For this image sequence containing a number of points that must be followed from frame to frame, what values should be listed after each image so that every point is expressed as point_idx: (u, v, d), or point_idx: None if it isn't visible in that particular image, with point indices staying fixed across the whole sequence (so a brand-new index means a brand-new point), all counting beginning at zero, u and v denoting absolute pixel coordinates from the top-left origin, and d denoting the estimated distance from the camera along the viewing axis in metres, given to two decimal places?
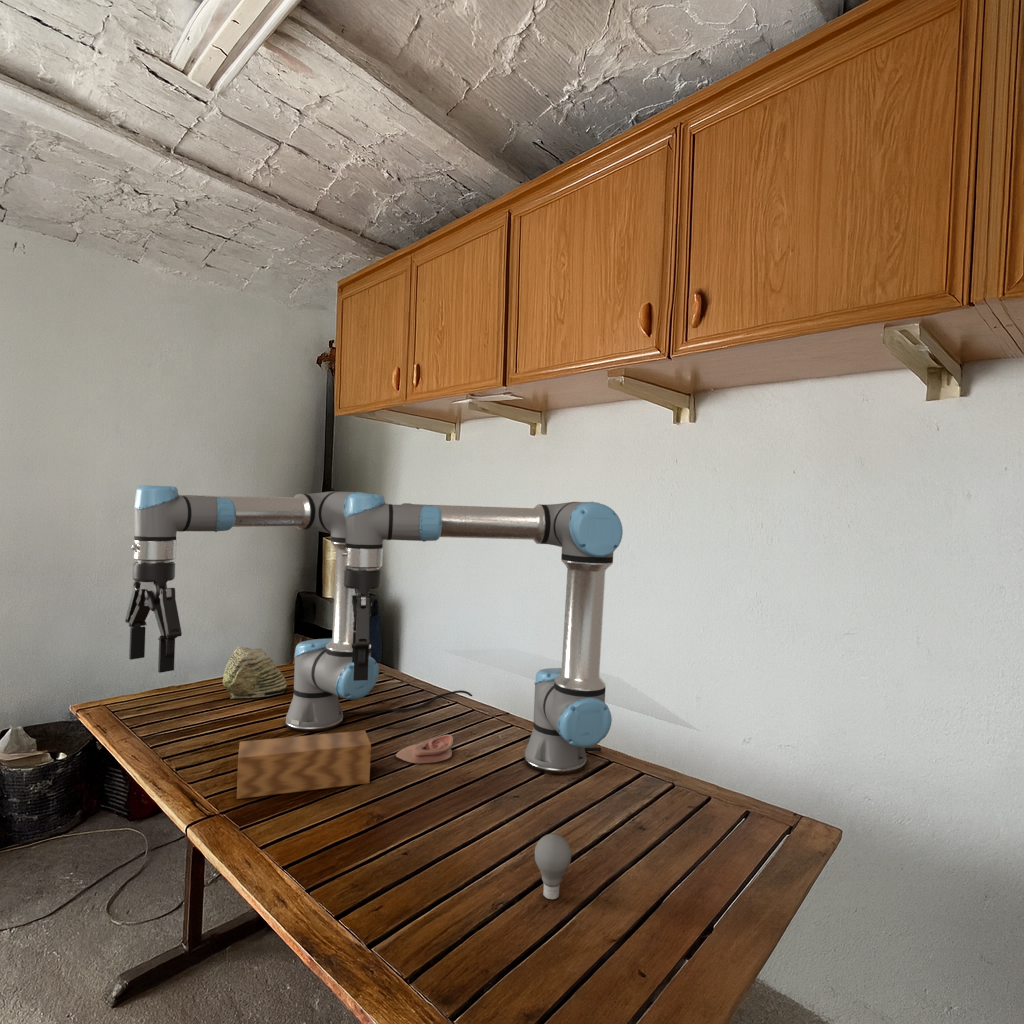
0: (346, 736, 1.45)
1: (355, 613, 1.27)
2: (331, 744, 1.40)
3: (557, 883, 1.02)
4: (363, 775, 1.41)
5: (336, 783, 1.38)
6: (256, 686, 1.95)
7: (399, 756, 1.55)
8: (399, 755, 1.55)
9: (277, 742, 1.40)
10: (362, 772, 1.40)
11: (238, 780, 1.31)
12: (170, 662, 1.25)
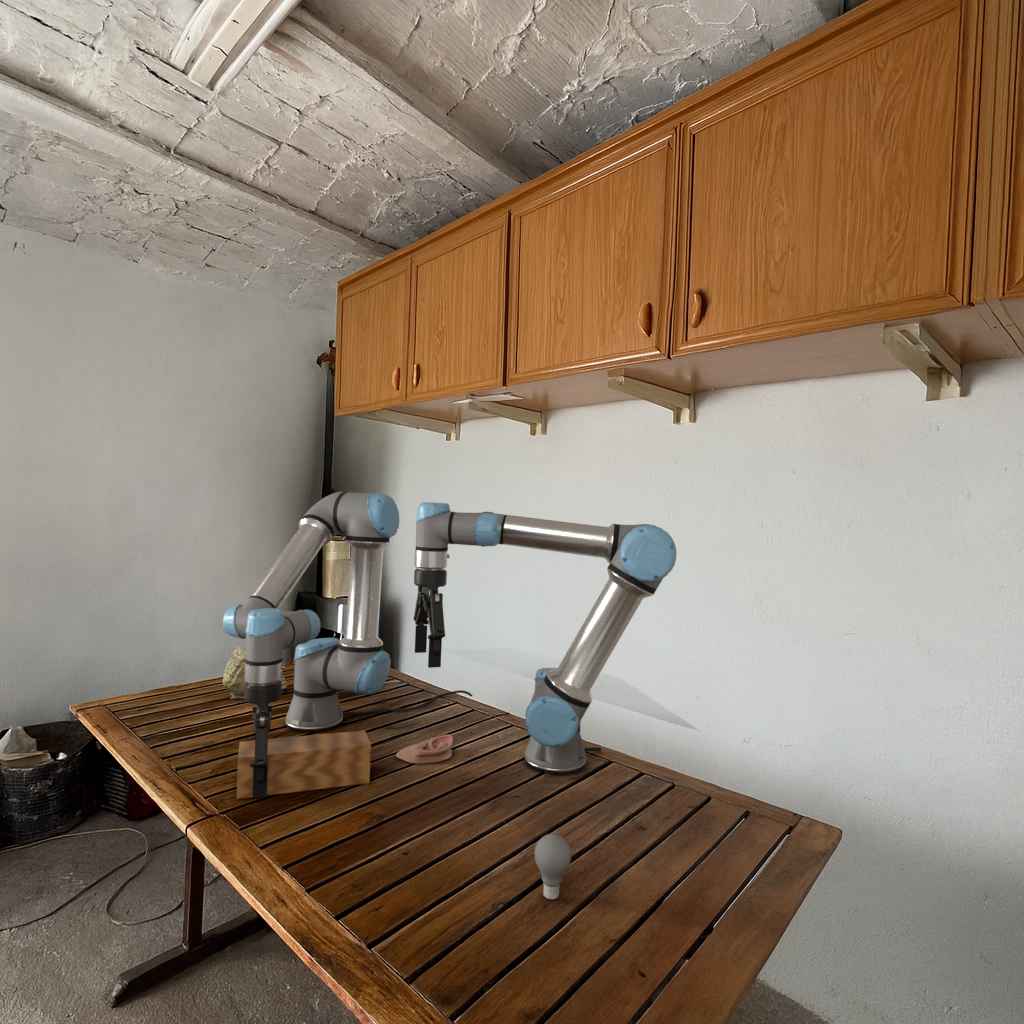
0: (346, 736, 1.45)
1: None
2: (331, 744, 1.40)
3: (557, 883, 1.02)
4: (363, 775, 1.41)
5: (336, 783, 1.38)
6: None
7: (399, 756, 1.55)
8: (399, 755, 1.55)
9: (277, 742, 1.40)
10: (362, 771, 1.40)
11: (238, 780, 1.31)
12: None
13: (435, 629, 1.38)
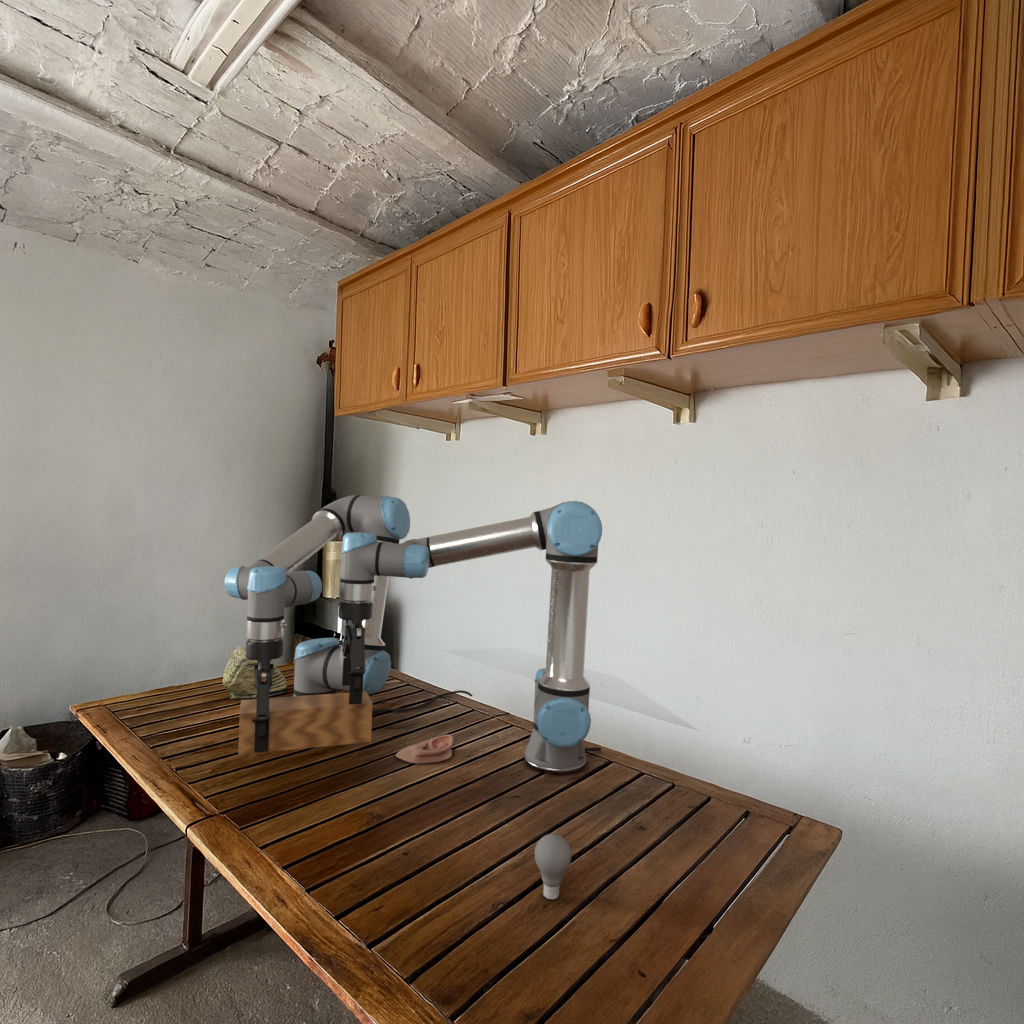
0: (348, 696, 1.45)
1: None
2: (332, 702, 1.40)
3: (557, 883, 1.02)
4: (364, 734, 1.40)
5: (337, 741, 1.38)
6: None
7: (399, 756, 1.55)
8: (399, 755, 1.55)
9: (278, 701, 1.39)
10: (364, 730, 1.40)
11: (240, 736, 1.31)
12: None
13: (355, 665, 1.34)
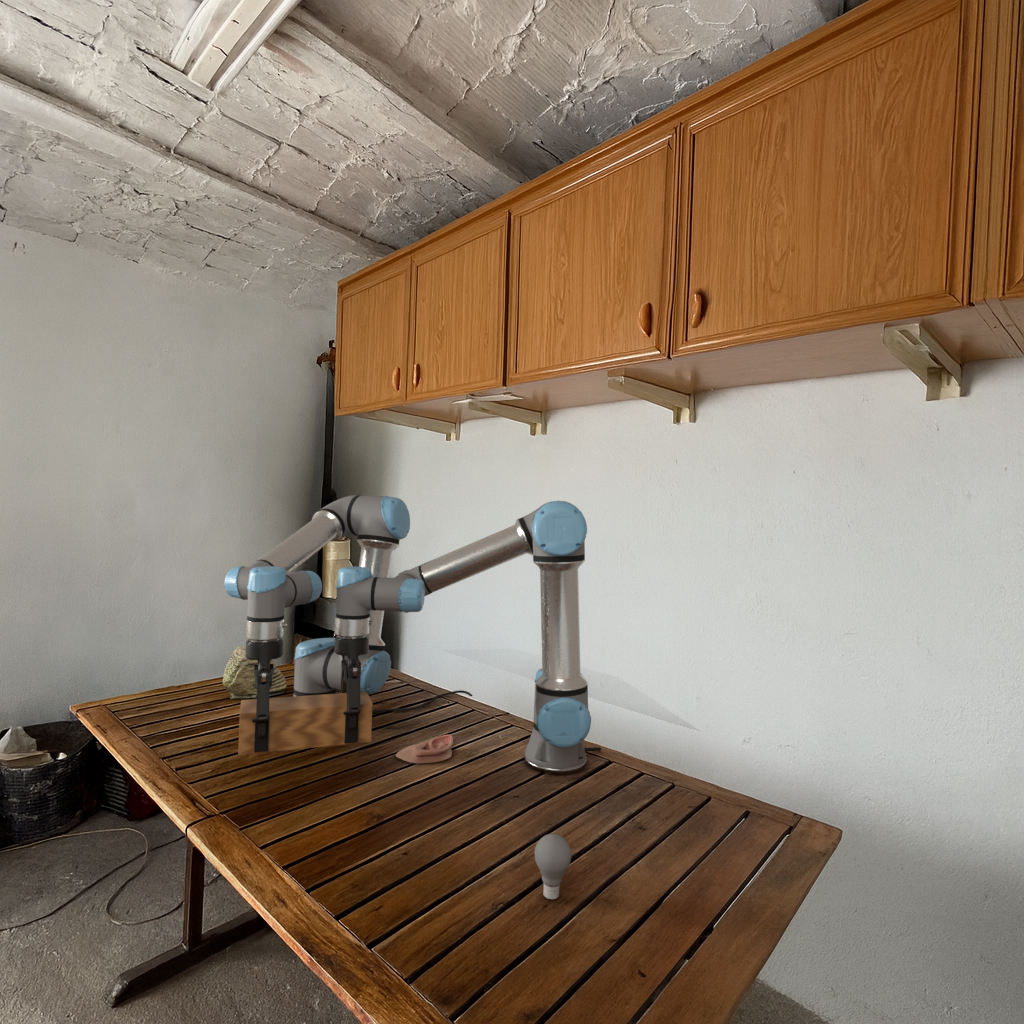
0: None
1: None
2: (332, 703, 1.40)
3: (557, 883, 1.02)
4: (364, 734, 1.40)
5: (337, 741, 1.38)
6: None
7: (399, 756, 1.55)
8: (399, 755, 1.55)
9: (278, 701, 1.39)
10: (364, 730, 1.40)
11: (240, 736, 1.31)
12: None
13: (350, 706, 1.36)
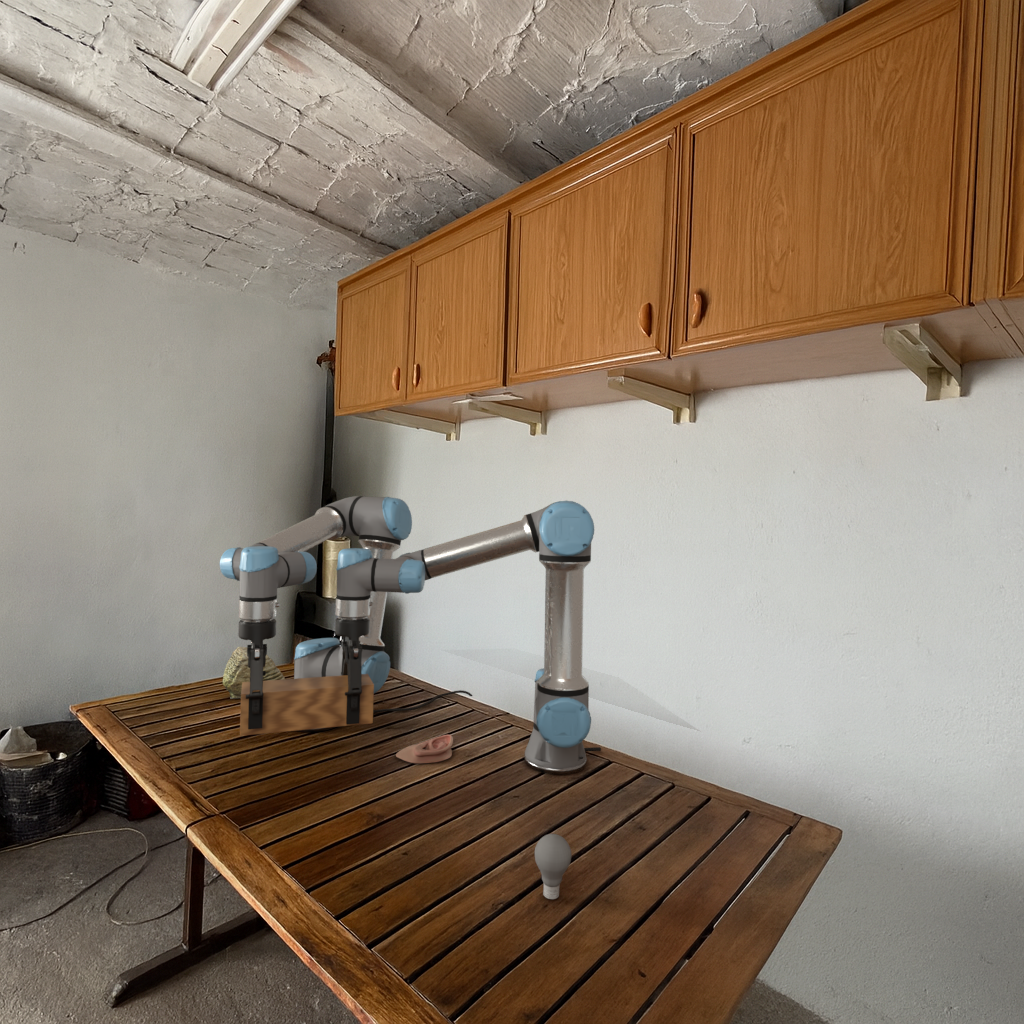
0: None
1: None
2: (333, 684, 1.40)
3: (557, 883, 1.02)
4: (366, 715, 1.40)
5: (339, 722, 1.38)
6: None
7: (399, 756, 1.55)
8: (399, 755, 1.55)
9: (279, 683, 1.39)
10: (365, 711, 1.40)
11: (241, 717, 1.31)
12: None
13: (351, 687, 1.35)
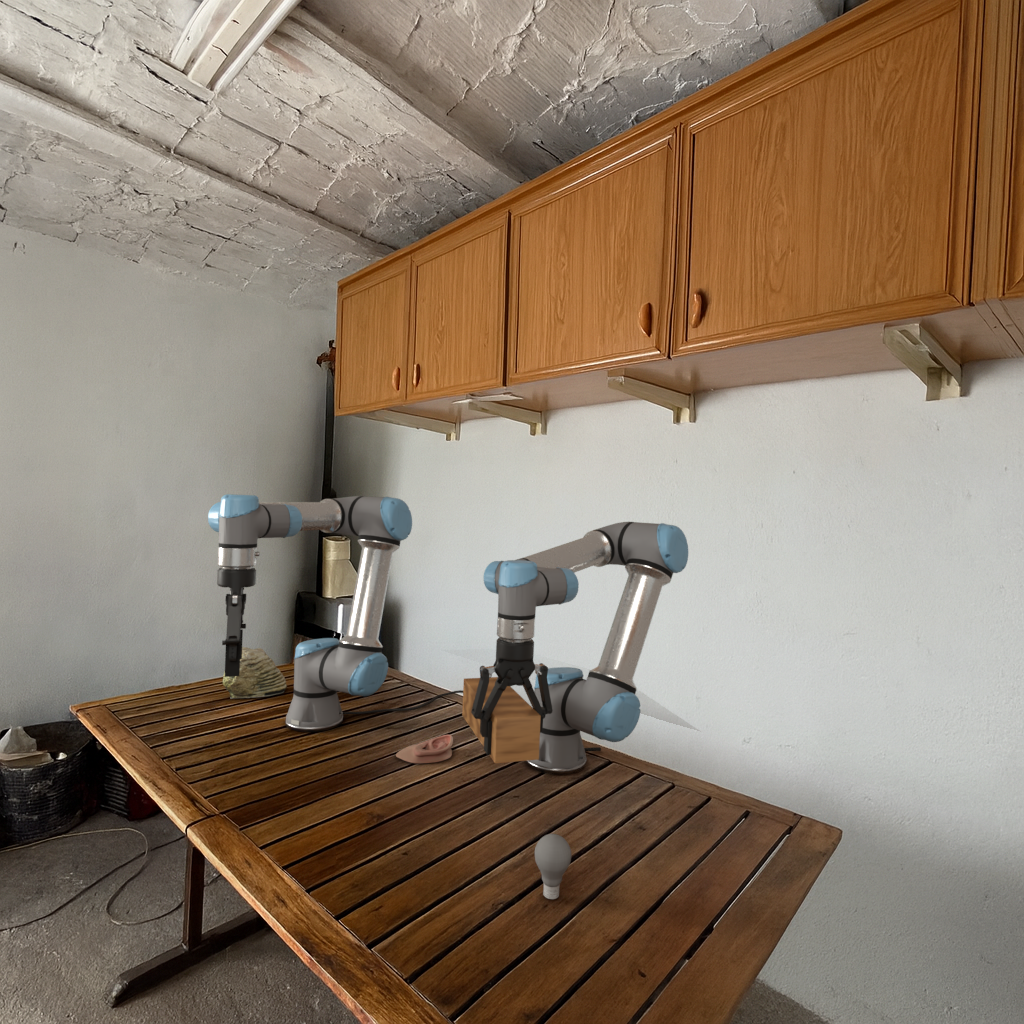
0: (518, 708, 1.27)
1: (531, 685, 1.26)
2: None
3: (557, 883, 1.02)
4: (493, 751, 1.23)
5: None
6: (256, 686, 1.95)
7: (399, 756, 1.55)
8: (399, 755, 1.55)
9: None
10: (493, 746, 1.23)
11: (463, 699, 1.47)
12: None
13: (473, 706, 1.25)
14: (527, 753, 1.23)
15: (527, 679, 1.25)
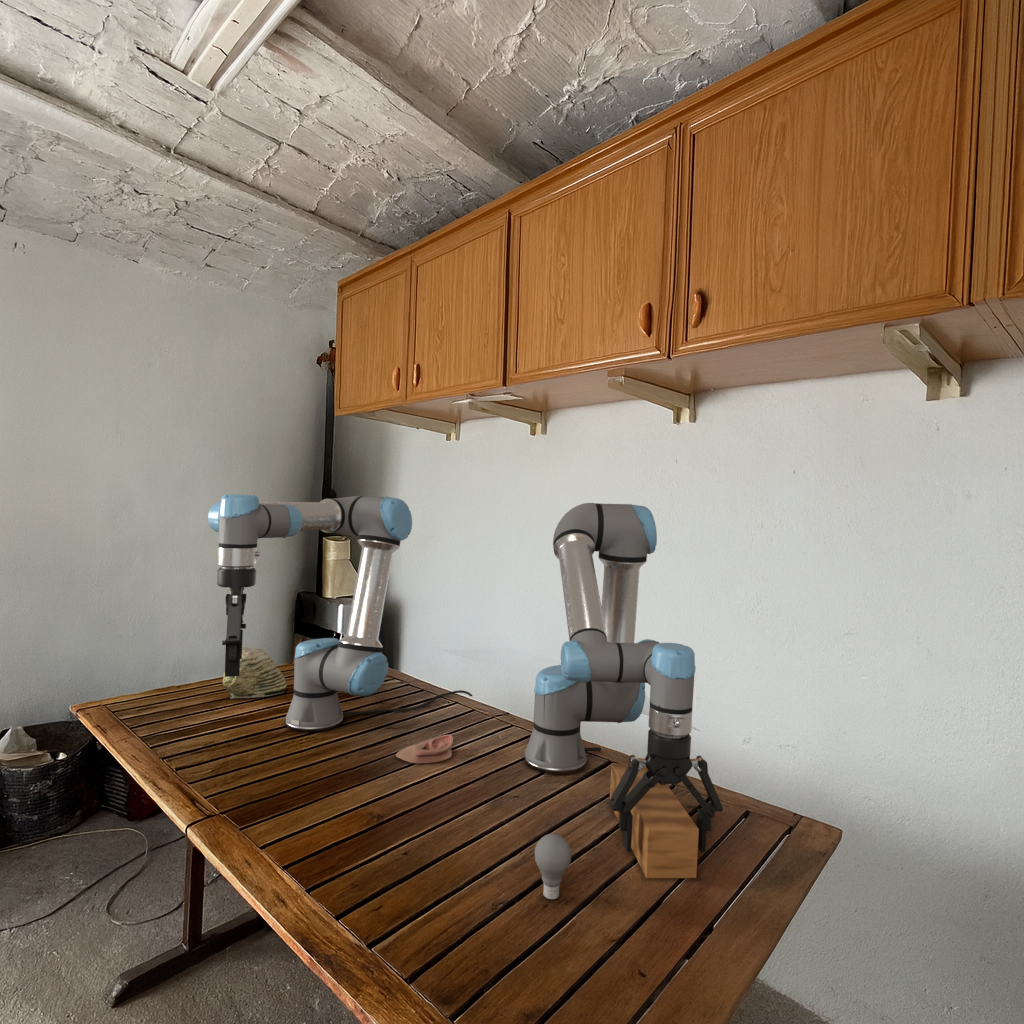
0: (673, 815, 1.15)
1: None
2: (647, 805, 1.18)
3: (557, 883, 1.02)
4: (644, 863, 1.11)
5: (634, 850, 1.17)
6: (256, 686, 1.95)
7: (399, 756, 1.55)
8: (399, 755, 1.55)
9: None
10: (644, 857, 1.11)
11: (610, 785, 1.36)
12: None
13: (612, 795, 1.14)
14: (683, 870, 1.10)
15: (683, 779, 1.13)
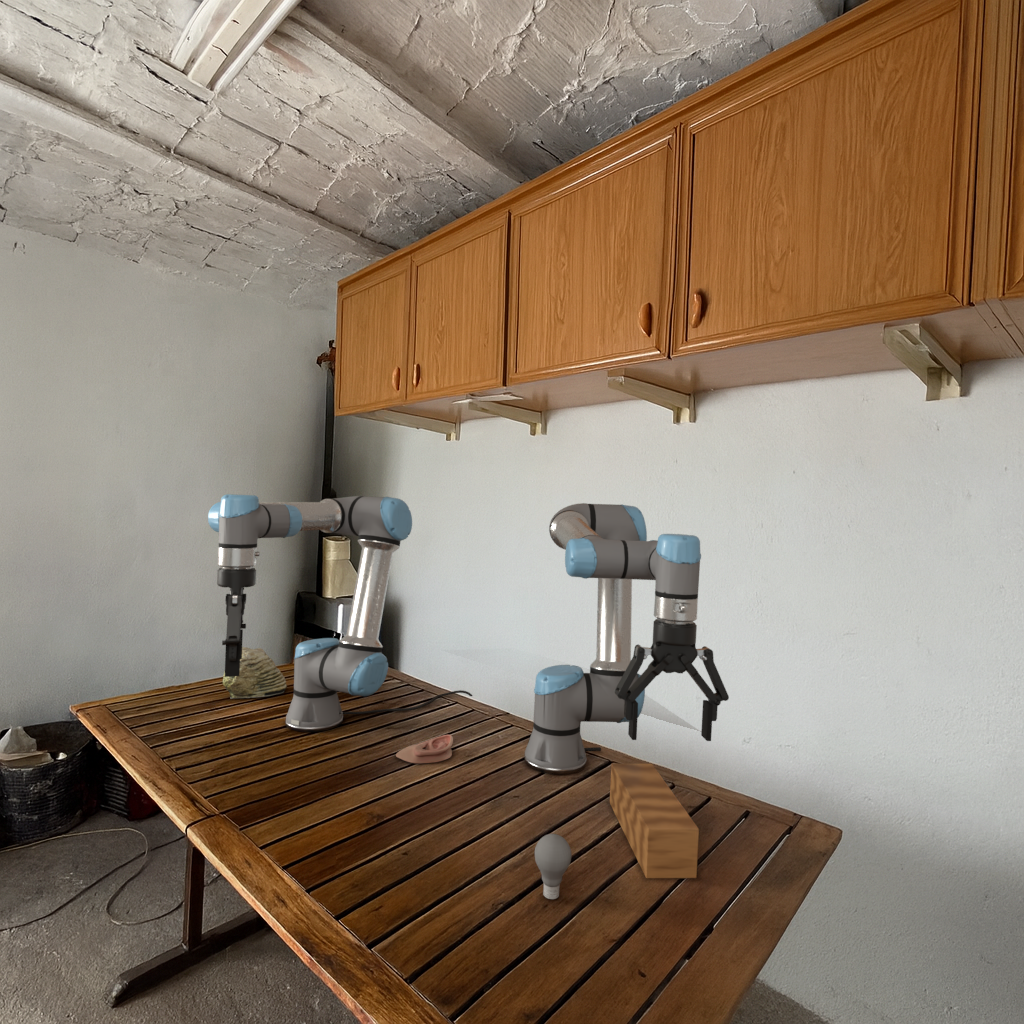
0: (673, 815, 1.15)
1: (696, 670, 1.13)
2: (647, 805, 1.18)
3: (557, 883, 1.02)
4: (644, 863, 1.11)
5: (634, 850, 1.17)
6: (256, 686, 1.95)
7: (399, 756, 1.55)
8: (399, 755, 1.55)
9: (649, 779, 1.29)
10: (644, 857, 1.11)
11: (610, 785, 1.36)
12: None
13: (618, 685, 1.14)
14: (683, 870, 1.10)
15: (688, 666, 1.12)
